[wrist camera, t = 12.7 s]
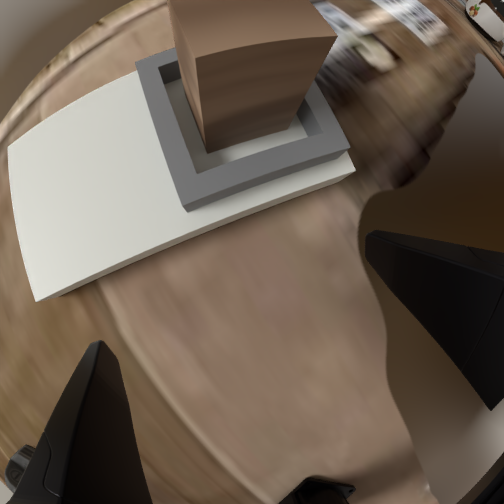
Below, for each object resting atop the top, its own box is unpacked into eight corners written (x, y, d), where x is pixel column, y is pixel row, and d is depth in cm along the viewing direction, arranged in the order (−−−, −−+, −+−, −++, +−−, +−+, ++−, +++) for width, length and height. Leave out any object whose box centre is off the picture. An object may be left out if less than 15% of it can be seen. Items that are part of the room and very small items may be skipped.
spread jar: (458, 2, 23) (486, -25, 12) (495, 33, 24) (524, 12, 13) (472, 33, 23) (508, 3, 11) (510, 68, 24) (546, 46, 12)
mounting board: (337, 182, 19) (371, 160, 14) (58, 296, 17) (18, 306, 12) (271, 55, 19) (282, 15, 14) (27, 157, 17) (-8, 138, 12)
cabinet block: (287, 129, 16) (337, 36, 7) (207, 154, 15) (195, 57, 7) (259, 74, 16) (284, -26, 7) (185, 94, 15) (165, -9, 7)
